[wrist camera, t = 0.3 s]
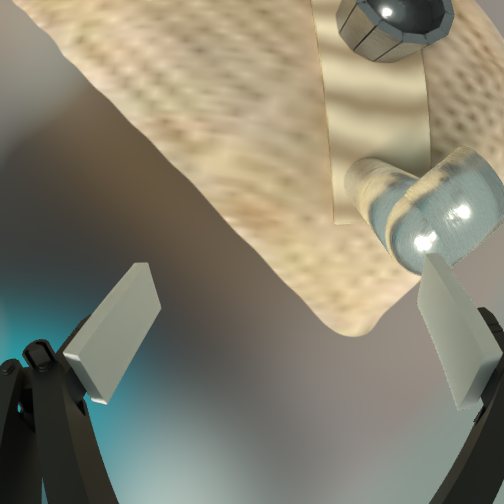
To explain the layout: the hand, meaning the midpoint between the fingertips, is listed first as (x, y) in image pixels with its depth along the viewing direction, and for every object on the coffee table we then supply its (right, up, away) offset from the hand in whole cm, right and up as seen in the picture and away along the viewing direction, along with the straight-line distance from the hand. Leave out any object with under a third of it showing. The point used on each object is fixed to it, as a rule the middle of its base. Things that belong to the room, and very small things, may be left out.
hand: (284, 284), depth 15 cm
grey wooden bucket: (+13, +28, +15) cm, 35 cm away
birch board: (+14, +20, +20) cm, 31 cm away
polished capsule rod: (+14, +11, +22) cm, 28 cm away
